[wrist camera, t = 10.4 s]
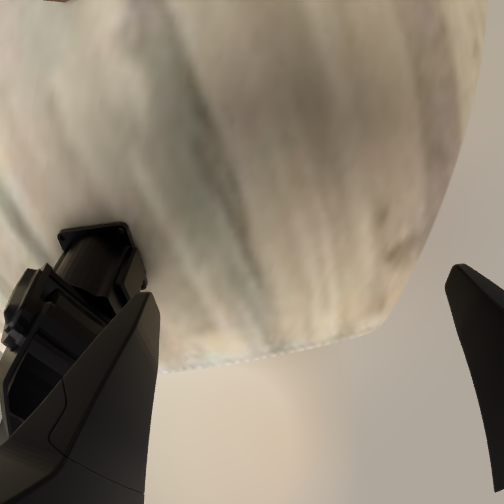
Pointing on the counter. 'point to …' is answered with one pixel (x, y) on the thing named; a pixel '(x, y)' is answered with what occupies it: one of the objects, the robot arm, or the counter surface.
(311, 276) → the counter surface
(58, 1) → the socket board
